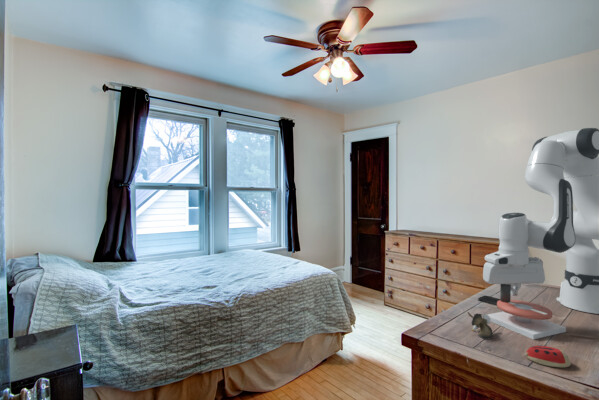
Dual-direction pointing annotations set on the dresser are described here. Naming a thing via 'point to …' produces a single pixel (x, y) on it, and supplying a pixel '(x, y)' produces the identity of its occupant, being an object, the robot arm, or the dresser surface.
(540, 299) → the dresser surface
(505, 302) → the handwheel
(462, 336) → the dresser surface
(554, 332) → the square base plate
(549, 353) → the ladybug figurine
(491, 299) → the phone
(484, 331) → the eagle figurine
